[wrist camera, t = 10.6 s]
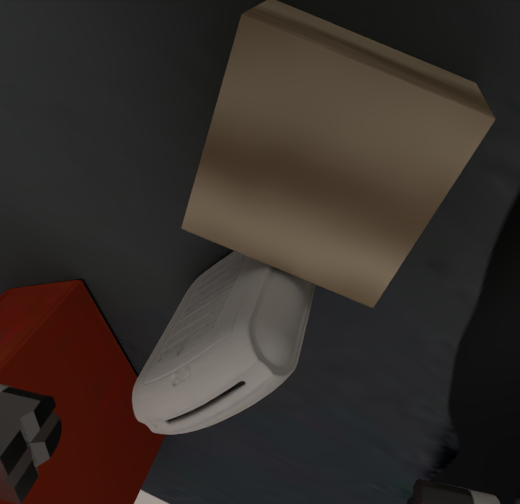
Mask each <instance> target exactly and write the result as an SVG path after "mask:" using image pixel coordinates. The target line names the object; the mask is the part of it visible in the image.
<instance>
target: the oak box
mask: <svg viewBox="0 0 520 504" xmlns="http://www.w3.org/2000/svg"><path fill="white" fill-rule="evenodd" d="M494 121H495V117H494V115H493V113H492V112H491V110H490V108H489V106H488V104H487V103H486V101H485V99H484V97H483V95H482V93H481V92H480V90H479V88H478V86H477V84H476V83H475V82H472V81H470V80H468V79H465V78H463V77H460V76H458V75H456V74H453V73H451V72H448V71H446V70H443V69H441V68H439V67H436V66H434V65H431V64H429V63H427V62H424V61H422V60H419V59H417V58H415V57H412V56H410V55H407V54H405V53H403V52H400V51H398V50H395V49H393V48H390V47H388V46H386V45H383V44H381V43H378V42H376V41H374V40H371V39H369V38H366V37H364V36H362V35H359V34H357V33H354V32H352V31H349V30H347V29H345V28H342V27H340V26H337V25H335V24H333V23H330V22H328V21H325V20H323V19H321V18H318V17H316V16H313V15H311V14H309V13H306V12H304V11H301V10H299V9H296V8H294V7H292V6H289V5H287V4H284V3H282V2H280V1H277V0H266V1H264V2H262V3H261V4H259V5H257V6H255V7H253V8H251V9H250V10H248V11H246V12H244V13H242V15H241V18H240V22H239V25H238V29H237V32H236V36H235V40H234V43H233V47H232V50H231V54H230V57H229V61H228V64H227V68H226V72H225V75H224V79H223V82H222V86H221V89H220V93H219V96H218V100H217V104H216V107H215V111H214V114H213V118H212V121H211V125H210V128H209V132H208V135H207V139H206V143H205V146H204V150H203V153H202V157H201V160H200V164H199V167H198V171H197V175H196V178H195V182H194V185H193V189H192V192H191V196H190V199H189V203H188V206H187V210H186V214H185V217H184V221H183V224H182V228H181V229H184V230H186V231H188V232H191V233H193V234H196V235H198V236H200V237H203V238H205V239H208V240H210V241H212V242H215V243H217V244H220V245H222V246H225V247H227V248H229V249H232V250H234V251H237V252H239V253H241V254H244V255H246V256H249V257H251V258H253V259H256V260H258V261H261V262H263V263H265V264H268V265H270V266H273V267H275V268H278V269H280V270H282V271H285V272H287V273H290V274H292V275H294V276H297V277H299V278H302V279H304V280H306V281H309V282H311V283H314V284H316V285H319V286H321V287H323V288H326V289H328V290H331V291H333V292H335V293H338V294H340V295H343V296H345V297H347V298H350V299H352V300H355V301H357V302H359V303H362V304H364V305H367V306H369V307H372V308H373V307H374V306H375V304H376V303H377V301H378V300H379V298H380V297H381V295H382V293H383V292H384V290H385V289H386V287H387V286H388V284H389V283H390V281H391V280H392V278H393V277H394V275H395V273H396V272H397V270H398V269H399V267H400V266H401V264H402V263H403V261H404V260H405V258H406V256H407V255H408V253H409V252H410V250H411V249H412V247H413V246H414V244H415V243H416V241H417V240H418V238H419V236H420V235H421V233H422V232H423V230H424V229H425V227H426V226H427V224H428V223H429V221H430V220H431V218H432V216H433V215H434V213H435V212H436V210H437V209H438V207H439V206H440V204H441V203H442V201H443V199H444V198H445V196H446V195H447V193H448V192H449V190H450V189H451V187H452V186H453V184H454V183H455V181H456V179H457V178H458V176H459V175H460V173H461V172H462V170H463V169H464V167H465V166H466V164H467V162H468V161H469V159H470V158H471V156H472V155H473V153H474V152H475V150H476V149H477V147H478V146H479V144H480V142H481V141H482V139H483V138H484V136H485V135H486V133H487V132H488V130H489V129H490V127H491V125H492V124H493V122H494Z"/></svg>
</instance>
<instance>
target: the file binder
mask: <svg viewBox="0 0 520 504" xmlns="http://www.w3.org/2000/svg"><path fill="white" fill-rule="evenodd" d="M136 380H137V376H136V374H135V372H134V371H133V369H132V367H131V365H130V364H129V362H128V360H127V358H126V357H125V355H124V353H123V352H122V350H121V348H120V346H119V345H118V343H117V341H116V339H115V338H114V336H113V334H112V332H111V331H110V329H109V327H108V325H107V324H106V322H105V320H104V318H103V317H102V315H101V313H100V311H99V310H98V308H97V306H96V304H95V303H94V301H93V299H92V298H91V296H90V294H89V292H88V291H87V289H86V287H85V285H84V284H83V282H82V280H80V281H79V280H70V281H63V282H56V283H49V284H41V285H34V286H27V287H20V288H12V289H8V290H7V291H5V292H4V293H3V294H2V295H1V296H0V384H2V385H7V386H11V387H14V388H18V389H22V390H27V391H31V392H36V393H40V394H44V395H49V396H53V398H54V401H55V403H56V407H55V408H54V410H53V412H54V413H56V414H57V415H58V416H59V417H60V419H61V423H62V434H61V437H60V440H59V443H58V446H57V448H56V449H55V451H54V453H53V454H52V456H51V458H50V459H48V460H47V461H45V462H44V463H42V464H40V465H39V466H38V472H39V477H38V479H37V480H36V482H35V483H34V485H33V486H32V488H31V490H30V491H29V493H28V494H27V496H26V498H25V499H24V501H23V502H22V504H134V502H135V500H136V498H137V495H138V493H139V491H140V489H141V487H142V485H143V482H144V480H145V478H146V476H147V474H148V472H149V469H150V467H151V465H152V463H153V461H154V459H155V456H156V454H157V452H158V450H159V448H160V446H161V443H162V441H163V439H164V437H165V435H166V434H159V433H154V432H152V431H151V430H150V428H149V427H148V426H147V425H146V424H144V423H142V422H139V421H138V420H137V419H136V417H135V414H134V411H133V405H132V392H133V388H134V385H135V382H136ZM0 504H17V503H12V502H8V501H4V500H0Z"/></svg>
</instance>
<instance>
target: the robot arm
mask: <svg viewBox="0 0 520 504" xmlns="http://www.w3.org/2000/svg"><path fill="white" fill-rule="evenodd" d="M55 407H56V403H55V401H54V398H53V396H49V395H44V394H40V393H36V392H31V391H27V390H22V389H18V388H14V387H11V386H7V385H2V384H0V500H4V501H8V502H12V503H17V504H22V502H23V501H24V499H25V498H26V496H27V494H28V493H29V491H30V490H31V488H32V486H33V485H34V483H35V482H36V480H37V479H38V477H39V472H38V466H39V465H40V464H42V463H44V462H45V461H47V460H48V459H50V458H51V456H52V454H53V453H54V451H55V449H56V448H57V446H58V443H59V440H60V437H61V434H62V423H61V419H60V417H59V416H58V415H57V414H56V413H54V412H53V410H54V408H55ZM407 504H500V502H499V501H498V499H497V498H496V497H495V496H494V495H490V494H485V493H481V492H476V491H472V490H468V489H465V488H460V487H455V486H451V485H445V484H441V483H436V482H431V481H426V480H422V479H418V480H416V482H415V484H414V487H413V497H412V498H409V499H408V501H407Z"/></svg>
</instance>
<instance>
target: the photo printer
mask: <svg viewBox="0 0 520 504" xmlns="http://www.w3.org/2000/svg"><path fill="white" fill-rule="evenodd" d="M315 286H316V284H314V283H311V282H309V281H306V280H304V279H302V278H299V277H297V276H294V275H292V274H290V273H287V272H285V271H282V270H280V269H278V268H275V267H273V266H270V265H268V264H265V263H263V262H261V261H258V260H256V259H253V258H251V257H249V256H246V255H244V254H241V253H239V252H237V251H233V252H232V253H230V254H229V255H228V256H226V257H225V258H223V259H222V260H220V261H219V262H217V263H216V264H215V265H213V266H212V267H210V268H209V269H208V270H206V271H205V272H204V273H203V274H201V275H200V276H199V277H198V278H197V279H196V280H195V281H194V282H193V284H192V285H191V286H190V287H189V289H188V290H187V292H186V294H185V296H184V297H183V299H182V301H181V303H180V305H179V306H178V308H177V310H176V312H175V313H174V315H173V317H172V319H171V320H170V322H169V324H168V326H167V328H166V329H165V331H164V333H163V335H162V336H161V338H160V340H159V341H158V343H157V345H156V347H155V348H154V350H153V352H152V354H151V355H150V357H149V359H148V361H147V362H146V364H145V366H144V367H143V369H142V371H141V373H140V374H139V376H138V378H137V380H136V382H135V385H134V388H133V392H132V405H133V411H134V414H135V417H136V419H137V420H138V421H139V422H142V423H144V424H146V425H147V426H148V427H149V428H150V430H151V431H152V432H154V433H159V434H181V433H187V432H192V431H196V430H199V429H202V428H205V427H208V426H211V425H213V424H216V423H218V422H221V421H223V420H225V419H227V418H229V417H231V416H233V415H235V414H237V413H239V412H241V411H243V410H244V409H246V408H248V407H250V406H251V405H253V404H255V403H256V402H258V401H259V400H261V399H262V398H264V397H265V396H267V395H268V394H269V393H271V392H272V391H274V390H275V389H276V388H277V387H278V386H280V385H281V384H282V383H283V382H284V381H285V380H286V379H287V378H288V377H289V376H290V375H291V374H292V372H293V371H294V370H295V368H296V366H297V363H298V359H299V354H300V350H301V346H302V342H303V338H304V333H305V329H306V325H307V321H308V317H309V312H310V308H311V304H312V299H313V295H314V290H315Z"/></svg>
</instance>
